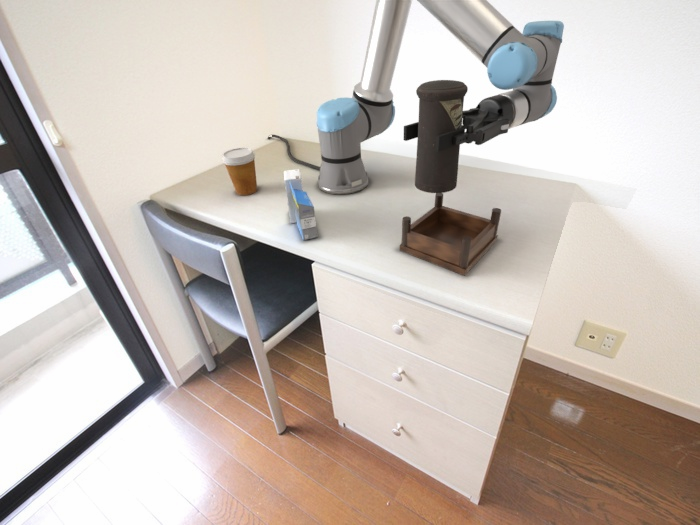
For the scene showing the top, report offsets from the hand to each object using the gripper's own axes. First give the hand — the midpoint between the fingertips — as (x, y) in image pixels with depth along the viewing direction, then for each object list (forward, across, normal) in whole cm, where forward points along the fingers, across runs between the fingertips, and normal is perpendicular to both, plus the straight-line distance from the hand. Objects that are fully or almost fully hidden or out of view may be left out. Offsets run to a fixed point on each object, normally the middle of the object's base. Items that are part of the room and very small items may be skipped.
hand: (420, 138), depth 69 cm
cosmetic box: (+14, +30, -24) cm, 41 cm away
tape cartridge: (+16, +22, -24) cm, 36 cm away
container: (-5, 0, -11) cm, 12 cm away
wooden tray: (-6, -4, -24) cm, 25 cm away
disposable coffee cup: (+19, +55, -24) cm, 63 cm away
